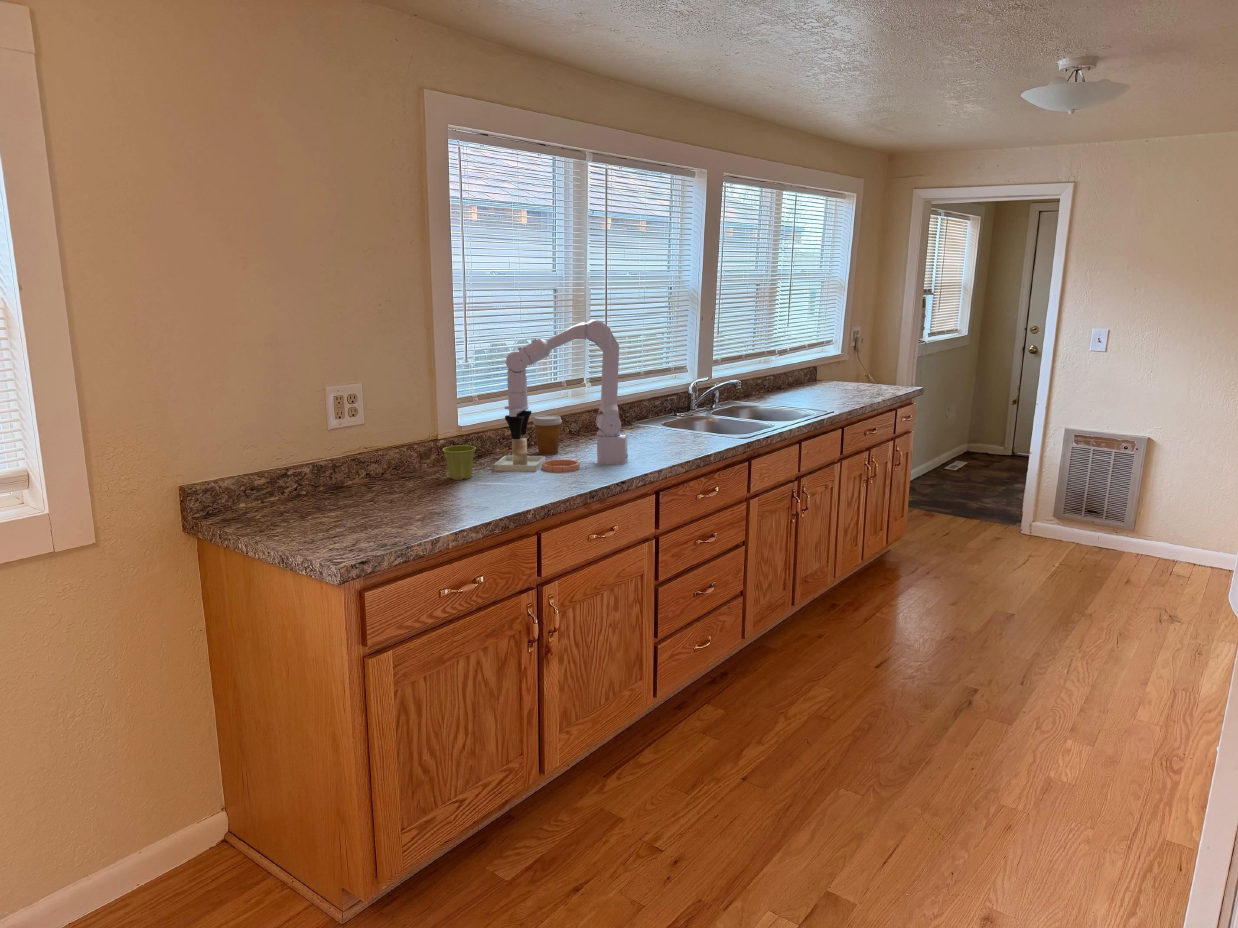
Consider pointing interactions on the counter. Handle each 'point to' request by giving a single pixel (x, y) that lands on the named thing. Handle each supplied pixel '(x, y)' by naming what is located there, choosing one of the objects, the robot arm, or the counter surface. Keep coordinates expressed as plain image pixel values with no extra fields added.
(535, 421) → the disposable coffee cup
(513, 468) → the grey green tray
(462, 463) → the plant pot
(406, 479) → the counter surface
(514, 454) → the birch cylinder
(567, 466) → the terracotta dish
